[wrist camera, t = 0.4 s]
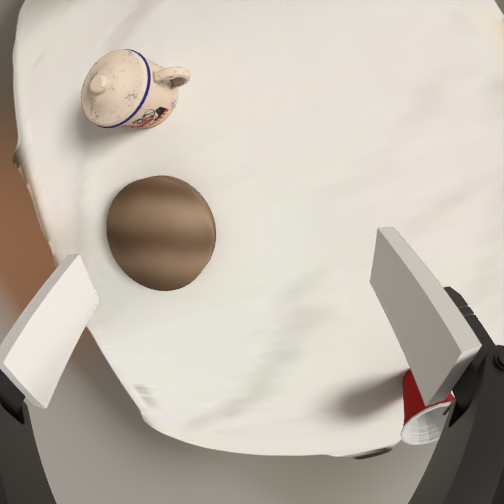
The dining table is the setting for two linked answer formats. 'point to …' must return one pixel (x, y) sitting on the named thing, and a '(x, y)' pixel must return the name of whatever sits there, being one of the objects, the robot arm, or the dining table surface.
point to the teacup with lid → (130, 90)
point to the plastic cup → (421, 414)
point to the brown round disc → (161, 232)
